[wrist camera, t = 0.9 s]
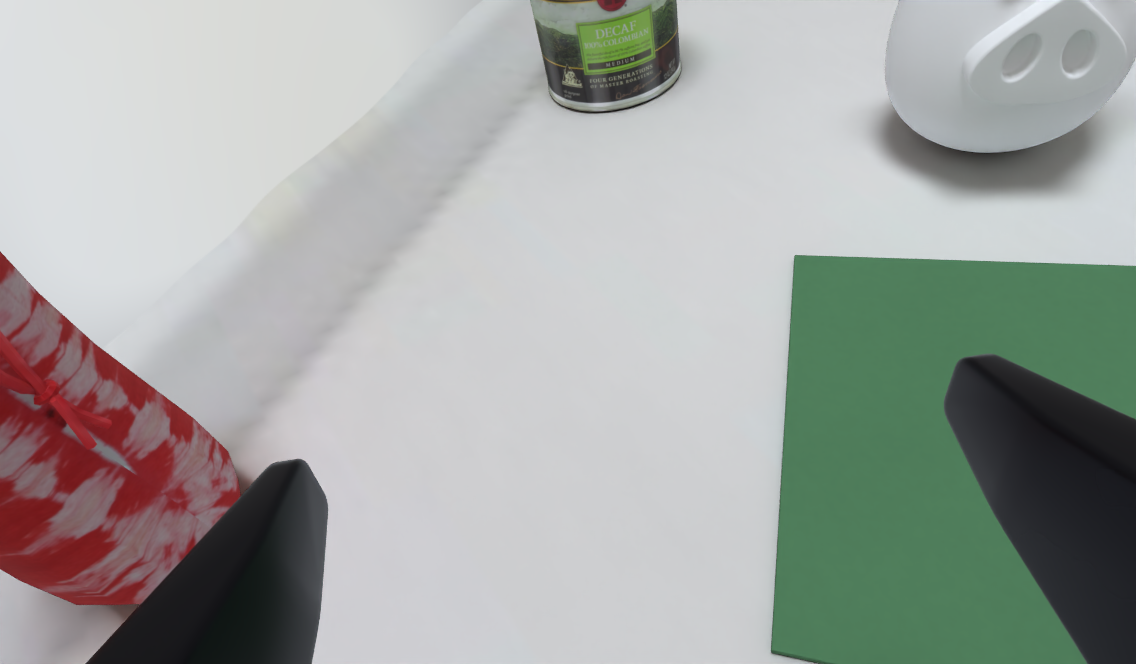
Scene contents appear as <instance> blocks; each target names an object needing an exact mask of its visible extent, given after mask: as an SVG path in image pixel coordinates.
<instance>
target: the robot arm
mask: <svg viewBox="0 0 1136 664" xmlns="http://www.w3.org/2000/svg"><path fill="white" fill-rule="evenodd" d="M944 412H945V415H946V418H947V420H948V422H949V424H950V426H951V429H952V431H953V433H954V435H955V437H956V439H957V441H958V443H959V445H960V447H961V449H962V451H963V453H964V455H965V457H966V459H967V461H968V463H969V465H970V468H971V470H972V472H973V474H974V476H975V478H976V480H977V482H978V484H979V486H980V488H981V490H982V492H983V494H984V496H985V498H986V500H987V502H988V504H989V506H990V508H991V510H992V512H993V513H994V515H995V517H996V519H997V520H998V522H999V524H1000V525H1001V527H1002V529H1003V530H1004V532H1005V533H1006V535H1007V537H1008V538H1009V540H1010V541H1011V543H1012V545H1013V546H1014V548H1015V549H1016V551H1017V553H1018V554H1019V556H1020V557H1021V559H1022V561H1023V562H1024V564H1025V565H1026V567H1027V569H1028V570H1029V572H1030V573H1031V575H1032V576H1033V578H1034V580H1035V581H1036V583H1037V584H1038V586H1039V588H1040V589H1041V591H1042V592H1043V594H1044V596H1045V597H1046V599H1047V600H1048V602H1049V604H1050V605H1051V607H1052V608H1053V610H1054V612H1055V613H1056V615H1057V616H1058V618H1059V619H1060V621H1061V623H1062V624H1063V626H1064V627H1065V629H1066V631H1067V632H1068V634H1069V635H1070V637H1071V639H1072V640H1073V642H1074V643H1075V645H1076V647H1077V648H1078V650H1079V651H1080V653H1081V655H1082V656H1083V658H1084V659H1085V661H1086V663H1087V664H1136V419H1134V418H1132V417H1130V416H1128V415H1125V414H1123V413H1121V412H1119V411H1117V410H1115V409H1113V408H1110V407H1108V406H1106V405H1104V404H1102V403H1100V402H1097V401H1095V400H1093V399H1091V398H1089V397H1087V396H1085V395H1082V394H1080V393H1078V392H1076V391H1074V390H1072V389H1069V388H1067V387H1065V386H1063V385H1061V384H1059V383H1057V382H1054V381H1052V380H1050V379H1048V378H1046V377H1044V376H1041V375H1039V374H1037V373H1035V372H1033V371H1031V370H1029V369H1026V368H1024V367H1022V366H1020V365H1018V364H1016V363H1014V362H1011V361H1009V360H1007V359H1005V358H1003V357H1001V356H998V355H996V354H981V355H975V356H968V357H964V358H961V359H960V360H959V361H958V362H957V363H956V366H955V368H954V371H953V374H952V377H951V380H950V383H949V386H948V389H947V392H946V395H945V398H944ZM327 519H328V504H327V499H326V496H325V494H324V492H323V490H322V488H321V486H320V485H319V483H318V481H317V479H316V478H315V476H314V474H313V472H312V471H311V469H310V467H309V465H308V464H307V463H306V462H305V461H304V460H302V459H294V460H288V461H281V462H276V463H273V464H271V465H270V466H268V467H267V468H266V469H265V470H264V472H263V473H262V474H261V475H260V476H259V477H258V478H257V479H256V480H255V481H254V482H253V483H252V484H251V486H250V487H249V488H248V489H247V490H246V491H245V492H244V493H243V494H242V495H241V496H240V497H239V499H238V500H237V501H236V502H235V503H234V504H233V505H232V506H231V507H230V508H229V509H228V510H227V511H226V513H225V514H224V515H223V516H222V517H221V518H220V519H219V520H218V521H217V522H216V523H215V524H214V526H213V527H212V528H211V529H210V530H209V531H208V532H207V533H206V534H205V535H204V536H203V537H202V538H201V540H200V541H199V542H198V543H197V544H196V545H195V546H194V547H193V548H192V549H191V550H190V551H189V553H188V554H187V555H186V556H185V557H184V558H183V559H182V560H181V561H180V562H179V563H178V564H177V565H176V567H175V568H174V569H173V570H172V571H171V572H170V573H169V574H168V575H167V576H166V577H165V578H164V580H163V581H162V582H161V583H160V584H159V585H158V586H157V587H156V588H155V589H154V590H153V591H152V592H151V594H150V595H149V596H148V597H147V598H146V599H145V600H144V601H143V602H142V603H141V604H140V605H139V607H138V608H137V609H136V610H135V611H134V612H133V613H132V614H131V615H130V616H129V617H128V618H127V619H126V621H125V622H124V623H123V624H122V625H121V626H120V627H119V628H118V629H117V630H116V631H115V632H114V634H113V635H112V636H111V637H110V638H109V639H108V640H107V641H106V642H105V643H104V644H103V645H102V646H101V648H100V649H99V650H98V651H97V652H96V653H95V654H94V655H93V656H92V657H91V658H90V659H89V661H88V662H87V663H86V664H312V659H313V653H314V648H315V643H316V637H317V632H318V625H319V619H320V610H321V600H322V587H323V574H324V560H325V546H326V533H327Z"/></svg>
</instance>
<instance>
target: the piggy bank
mask: <svg viewBox="0 0 1136 664" xmlns="http://www.w3.org/2000/svg"><path fill="white" fill-rule="evenodd" d="M1135 58H1136V0H899V2H898V5H897V8H896V11H895V14H894V18H893V21H892V25H891V28H890V32H889V37H888V41H887V47H886V55H885V81H886V87H887V91H888V95H889V98H890V100H891V103H892V105H893V107H894V109H895V110H896V112H897V113H898V115H899V116H900V117H901V118H902V120H903V121H904V122H905V123H906V124H907V125H908V126H909V127H910V128H911V129H913V130H914V131H915V132H917V133H918V134H920V135H921V136H923V137H925V138H927V139H928V140H930V141H933V142H935V143H937V144H940V145H943V146H946V147H949V148H953V149H957V150H962V151H969V152H980V153H996V152H1007V151H1015V150H1020V149H1025V148H1029V147H1033V146H1036V145H1039V144H1043V143H1045V142H1048V141H1051V140H1053V139H1055V138H1058V137H1060V136H1062V135H1064V134H1066V133H1068V132H1069V131H1071V130H1073V129H1075V128H1076V127H1078V126H1079V125H1081V124H1082V123H1084V122H1085V121H1086V120H1088V119H1089V118H1090V117H1091V116H1093V115H1094V114H1095V113H1096V112H1097V111H1098V110H1099V109H1101V108H1102V106H1103V105H1104V104H1105V103H1106V102H1107V101H1108V100H1109V99H1110V98H1111V96H1112V95H1113V94H1114V93H1115V92H1116V90H1117V89H1118V88H1119V86H1120V85H1121V83H1122V82H1123V80H1124V79H1125V77H1126V75H1127V74H1128V72H1129V70H1130V68H1131V66H1132V64H1133V62H1134V60H1135Z"/></svg>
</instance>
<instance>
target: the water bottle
mask: <svg viewBox="0 0 1136 664" xmlns="http://www.w3.org/2000/svg"><path fill="white" fill-rule="evenodd" d="M240 496H241V494H240V488H239V482H238V478H237V475H236V472H235V470H234V467H233V464H232V461H231V458H230V456H229V453H228V451H227V450H226V449H225V448H224V447H223V446H222V445H221V444H220V443H219V442H218V441H217V440H216V439H215V438H214V437H212V436H211V435H210V434H209V433H208V432H207V431H206V430H205V429H204V428H203V427H202V426H201V425H200V424H199V423H198V422H197V421H196V420H195V419H194V418H192V417H191V416H190V415H188V414H187V413H186V412H185V411H183V410H182V409H181V408H179V407H178V406H177V405H175V404H174V403H173V402H171V401H170V400H169V399H167V398H166V397H165V396H163V395H162V394H161V393H159V392H158V391H157V390H155V389H154V388H153V387H151V386H150V385H149V384H147V383H146V382H145V381H143V380H142V379H141V378H139V377H138V376H137V375H135V374H134V373H133V372H131V371H130V370H129V369H127V368H126V367H125V366H123V365H122V364H121V363H119V362H118V361H117V360H116V359H114V358H113V357H112V356H110V355H109V354H108V353H106V352H105V351H104V350H102V349H101V348H100V347H98V346H97V345H96V344H94V343H93V342H92V341H91V340H90V339H89V338H88V337H87V336H86V335H85V334H83V333H82V332H81V331H80V330H79V329H78V328H77V327H76V326H75V325H73V324H72V323H71V322H70V321H69V320H68V319H67V318H66V317H65V316H63V315H62V314H61V313H60V312H59V311H58V310H57V309H56V308H54V307H53V306H52V305H51V304H50V303H49V302H48V301H47V300H46V299H45V298H43V297H42V296H41V295H40V294H39V293H38V292H37V291H36V290H35V289H34V288H33V287H32V285H31V284H30V283H29V282H28V281H27V280H26V279H25V278H24V277H23V276H22V275H21V273H19V271H18V270H17V269H16V268H15V267H14V266H13V265H12V264H11V263H10V262H9V261H8V260H7V259H6V257H5V256H4V255H3V254H2V253H1V252H0V569H1V570H3V571H5V572H6V573H8V574H10V575H11V576H13V577H15V578H17V579H18V580H20V581H22V582H24V583H27V584H29V585H31V586H34V587H36V588H38V589H41V590H43V591H45V592H48V593H50V594H53V595H55V596H57V597H60V598H62V599H64V600H67V601H69V602H71V603H74V604H76V605H129V604H141V603H142V602H143V601H144V600H145V599H146V598H147V597H148V596H149V595H150V594H151V592H152V591H153V590H154V589H155V588H156V587H157V586H158V585H159V584H160V583H161V582H162V581H163V580H164V578H165V577H166V576H167V575H168V574H169V573H170V572H171V571H172V570H173V569H174V568H175V567H176V565H177V564H178V563H179V562H180V561H181V560H182V559H183V558H184V557H185V556H186V555H187V554H188V553H189V551H190V550H191V549H192V548H193V547H194V546H195V545H196V544H197V543H198V542H199V541H200V540H201V538H202V537H203V536H204V535H205V534H206V533H207V532H208V531H209V530H210V529H211V528H212V527H213V526H214V524H215V523H216V522H217V521H218V520H219V519H220V518H221V517H222V516H223V515H224V514H225V513H226V511H227V510H228V509H229V508H230V507H231V506H232V505H233V504H234V503H235V502H236V501H237V500H238V499H239V497H240Z"/></svg>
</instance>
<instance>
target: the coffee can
mask: <svg viewBox="0 0 1136 664" xmlns="http://www.w3.org/2000/svg"><path fill="white" fill-rule="evenodd" d="M530 1H531V6H532V11H533V15H534V20H535V24H536V29H537V34H538V38H539V43H540V47H541V52H542V56H543V61H544V65H545V70H546V74H547V80H548V88H549V93H550V95H551V96H552V98H553V99H554V100H555V101H556V102H557V103H559V104H561V105H563V106H565V107H568V108H571V109H575V110H579V111H590V112H600V111H612V110H619V109H624V108H628V107H631V106H634V105H637V104H641V103H643V102H646V101H648V100H651V99H653V98H654V97H656V96H658V95H660V94H661V93H663V92H664V91H666V90H667V89H668V88H669V87H671V86H672V85H673V84H674V83H675V81H676V80H677V78H678V77H679V75H680V72H681V61H680V57H679V38H678V20H677V4H676V0H530Z"/></svg>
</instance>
